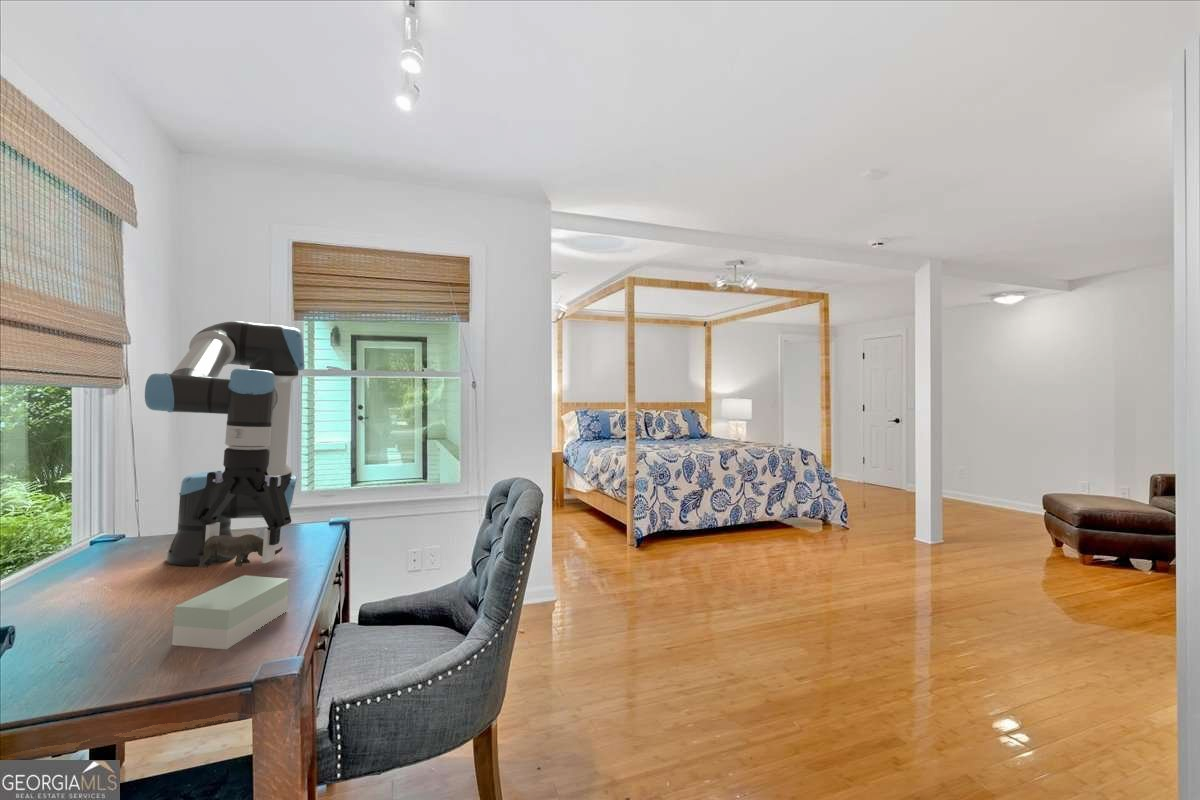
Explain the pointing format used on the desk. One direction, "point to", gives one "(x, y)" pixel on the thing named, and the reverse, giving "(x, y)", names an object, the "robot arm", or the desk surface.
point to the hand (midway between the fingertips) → (239, 559)
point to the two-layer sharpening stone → (229, 612)
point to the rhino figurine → (231, 549)
